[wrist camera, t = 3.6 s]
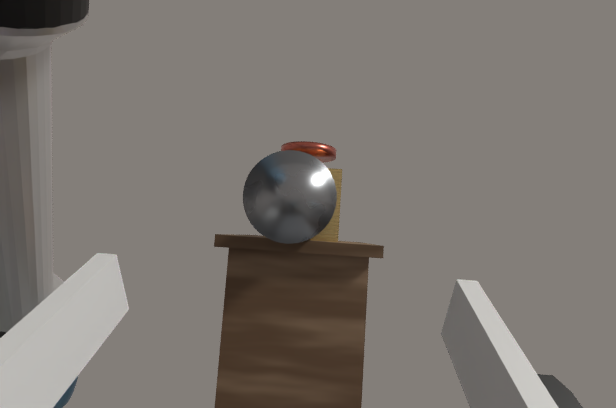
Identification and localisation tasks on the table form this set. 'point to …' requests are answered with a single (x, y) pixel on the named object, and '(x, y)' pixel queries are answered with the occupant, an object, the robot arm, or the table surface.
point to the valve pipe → (295, 194)
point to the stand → (293, 323)
